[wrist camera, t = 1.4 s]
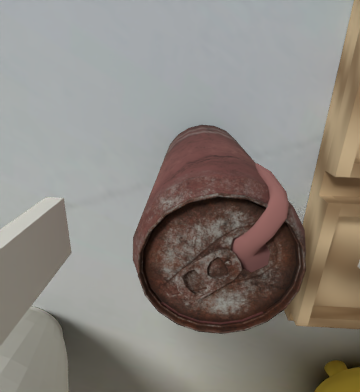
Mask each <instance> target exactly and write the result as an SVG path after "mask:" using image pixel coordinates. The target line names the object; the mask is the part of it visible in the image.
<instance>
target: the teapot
mask: <svg viewBox="0 0 360 392" xmlns="http://www.w3.org/2000/svg"><path fill="white" fill-rule="evenodd" d="M324 369H325V371H326V373H327V374H328V375H329V378H327V379H326V380H324V381H323V382H322V383H321V384H320V385H319V386H318V387H317V388H316V390H315V391H314V392H360V367H356V368H351V369H347V367H346V365H345V363H344V362H342V361H339V360H334V361H331V362H329V363H327V364H326V365H325V367H324Z"/></svg>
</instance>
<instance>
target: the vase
mask: <svg viewBox="0 0 360 392" xmlns="http://www.w3.org/2000/svg"><path fill="white" fill-rule="evenodd" d="M0 392H69V386H68V359H67V351H66V346H65V342H64V339H63V331H62V328H61V326H60V324H59V322H58V321H57V320H56V319H55V318H54V317H53V316H52V315H51V314H49V313H47V312H46V311H44V310H42V309H39V308H36V307H32V306H31V307H30V308H29V309H28V311H27V312H26V313H25V315H24V316H23V317H22V319H21V320H20V321H19V323H18V324H17V325H16V326H15V328H14V329H13V330H12V332H11V333H10V334H9V336H8V337H7V338H6V340H5V341H4V342H3V344H2V345H1V346H0Z"/></svg>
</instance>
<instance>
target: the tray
mask: <svg viewBox="0 0 360 392" xmlns="http://www.w3.org/2000/svg"><path fill="white" fill-rule="evenodd" d="M303 227H304V229H305V243H306V257H305V261H306V272H305V275H304V278H303V281H302V284H301V287H300V290H299V292H298V293H297V294H296V296H295V297H294V298H293V300H292V301H291V302H290V304H289V305H288V306H287V307H286V309H284V311H285V313H286V316H287V318H288V320H290V321H294V322H295V324H296V326H312V327H330V328H349V329H360V269H359V267H358V263H359V260H360V0H354V3H353V7H352V11H351V16H350V20H349V24H348V29H347V33H346V38H345V42H344V46H343V51H342V55H341V59H340V64H339V68H338V72H337V77H336V81H335V86H334V90H333V94H332V99H331V103H330V107H329V112H328V116H327V120H326V125H325V129H324V134H323V138H322V142H321V147H320V151H319V155H318V160H317V164H316V168H315V173H314V177H313V182H312V186H311V190H310V195H309V199H308V203H307V208H306V212H305V216H304V221H303Z"/></svg>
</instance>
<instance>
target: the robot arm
mask: <svg viewBox="0 0 360 392" xmlns="http://www.w3.org/2000/svg"><path fill="white" fill-rule="evenodd" d="M70 254H71V246H70V239H69V232H68V225H67V218H66V211H65V204H64V198H53V197H46V198H44V199H43V200H41V201H40V202H39V203H37V204H36V205H34V206H33V207H32V208H30V209H29V210H27V211H26V212H24V213H23V214H22V215H20V216H19V217H17V218H16V219H14V220H13V221H12V222H10V223H9V224H7V225H6V226H5V227H3V228H2V229H0V346H1V345H2V344H3V342H4V341H5V340H6V338H7V337H8V336H9V334H10V333H11V332H12V330H13V329H14V328H15V326H16V325H17V324H18V323H19V321H20V320H21V319H22V317H23V316H24V315H25V313H26V312H27V311H28V309H29V308H30V307H31V305H32V304H33V303H34V301H35V300H36V299H37V298H38V296H39V295H40V294H41V292H42V291H43V290H44V288H45V287H46V286H47V284H48V283H49V282H50V280H51V279H52V278H53V276H54V275H55V274H56V272H57V271H58V270H59V269H60V267H61V266H62V265H63V263H64V262H65V261H66V259H67V258H68V257H69V255H70ZM358 267H359V269H360V260H359V263H358Z"/></svg>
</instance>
